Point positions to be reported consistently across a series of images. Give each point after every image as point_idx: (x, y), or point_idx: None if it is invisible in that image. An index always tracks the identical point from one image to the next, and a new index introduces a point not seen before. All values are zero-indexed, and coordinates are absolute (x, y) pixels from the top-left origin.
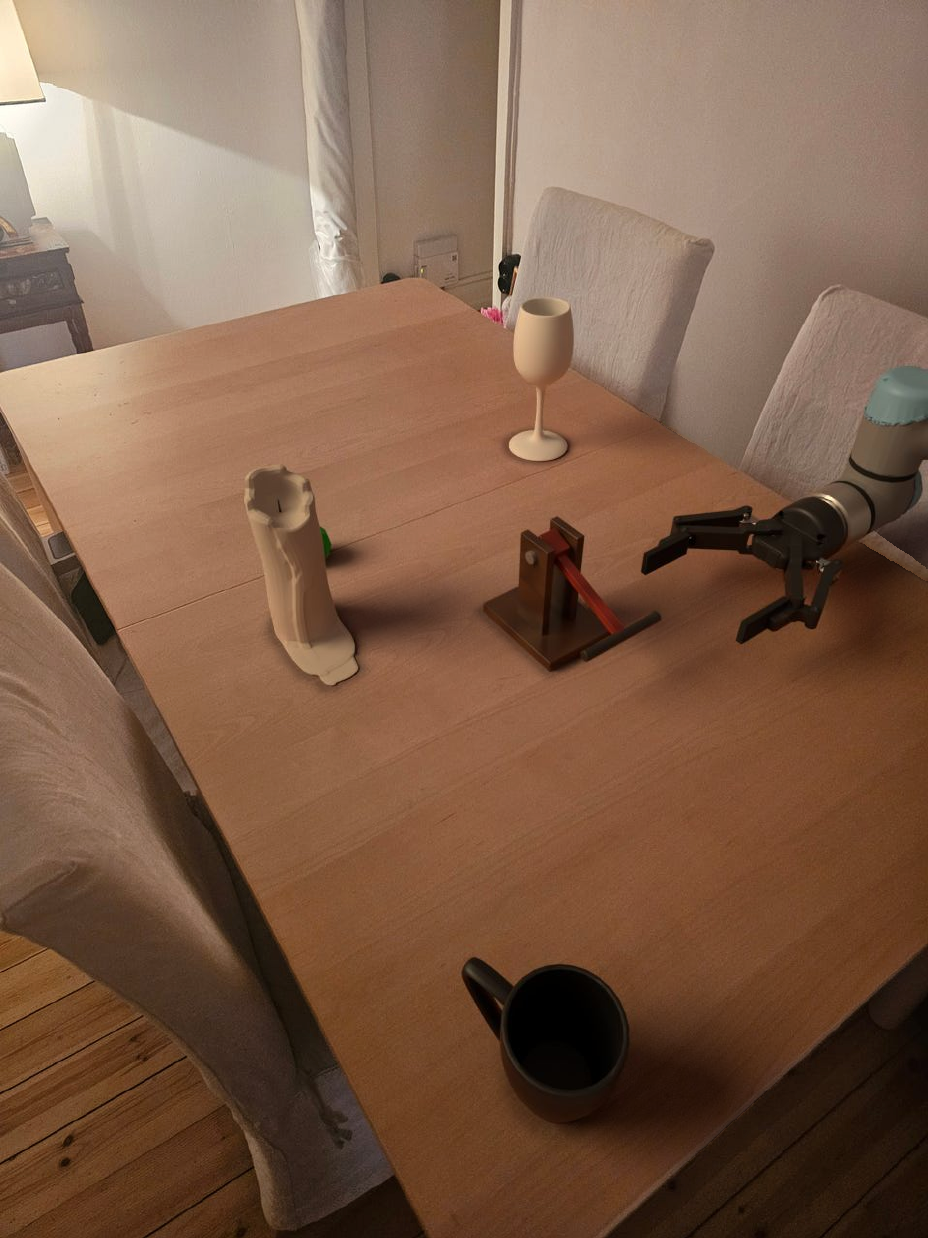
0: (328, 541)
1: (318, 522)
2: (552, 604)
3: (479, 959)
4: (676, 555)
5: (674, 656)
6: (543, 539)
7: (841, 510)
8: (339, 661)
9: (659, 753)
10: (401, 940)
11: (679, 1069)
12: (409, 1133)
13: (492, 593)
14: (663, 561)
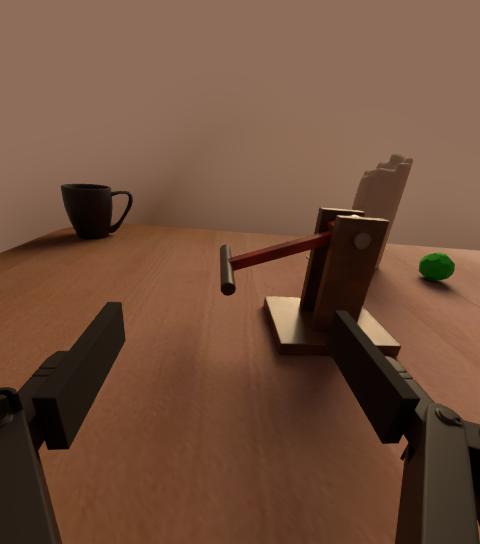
0: (436, 266)
1: (383, 192)
2: None
3: (128, 193)
4: (365, 399)
5: (211, 384)
6: None
7: None
8: None
9: (139, 308)
10: (172, 235)
11: (45, 245)
12: (126, 224)
13: (379, 321)
14: (345, 365)
